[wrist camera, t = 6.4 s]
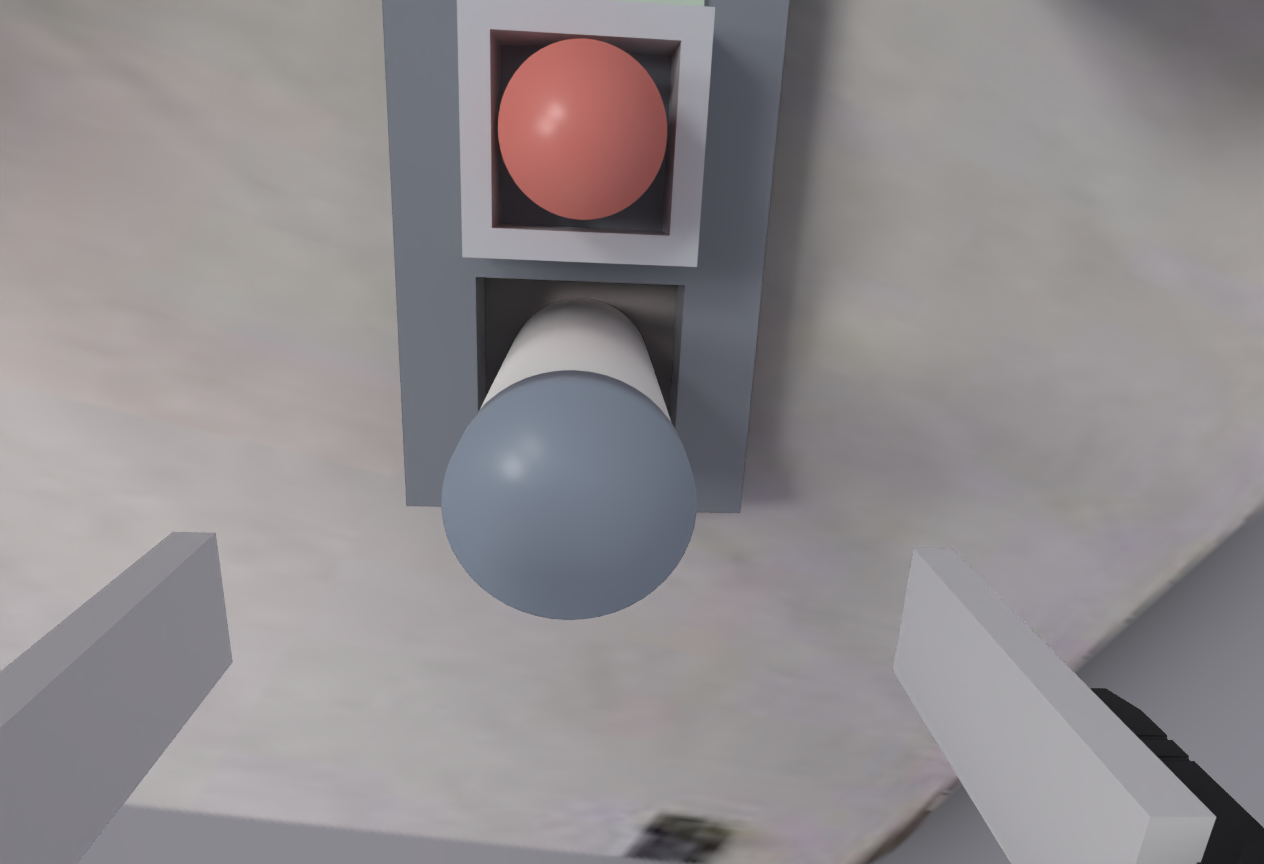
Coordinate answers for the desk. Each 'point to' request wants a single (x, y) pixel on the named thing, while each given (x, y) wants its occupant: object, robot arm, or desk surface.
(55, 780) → the robot arm
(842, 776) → the desk surface
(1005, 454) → the desk surface
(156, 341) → the desk surface
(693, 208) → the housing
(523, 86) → the plunger
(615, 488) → the cartridge
